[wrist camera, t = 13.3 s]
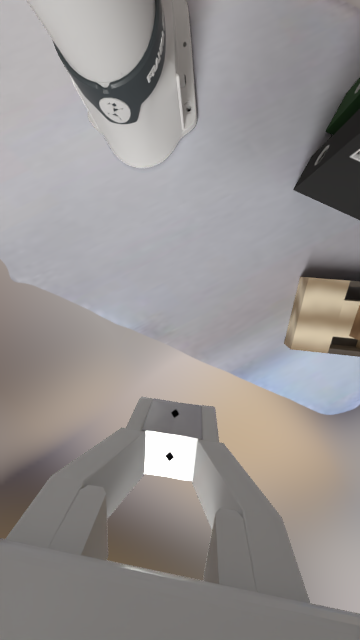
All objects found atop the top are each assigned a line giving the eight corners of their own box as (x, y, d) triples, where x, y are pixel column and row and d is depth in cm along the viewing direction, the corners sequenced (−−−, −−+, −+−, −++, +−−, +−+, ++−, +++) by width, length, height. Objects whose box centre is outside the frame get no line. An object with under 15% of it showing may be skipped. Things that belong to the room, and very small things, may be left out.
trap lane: (300, 276, 36) (323, 278, 30) (411, 285, 35) (462, 289, 28) (284, 343, 40) (301, 358, 33) (384, 354, 39) (423, 371, 32)
